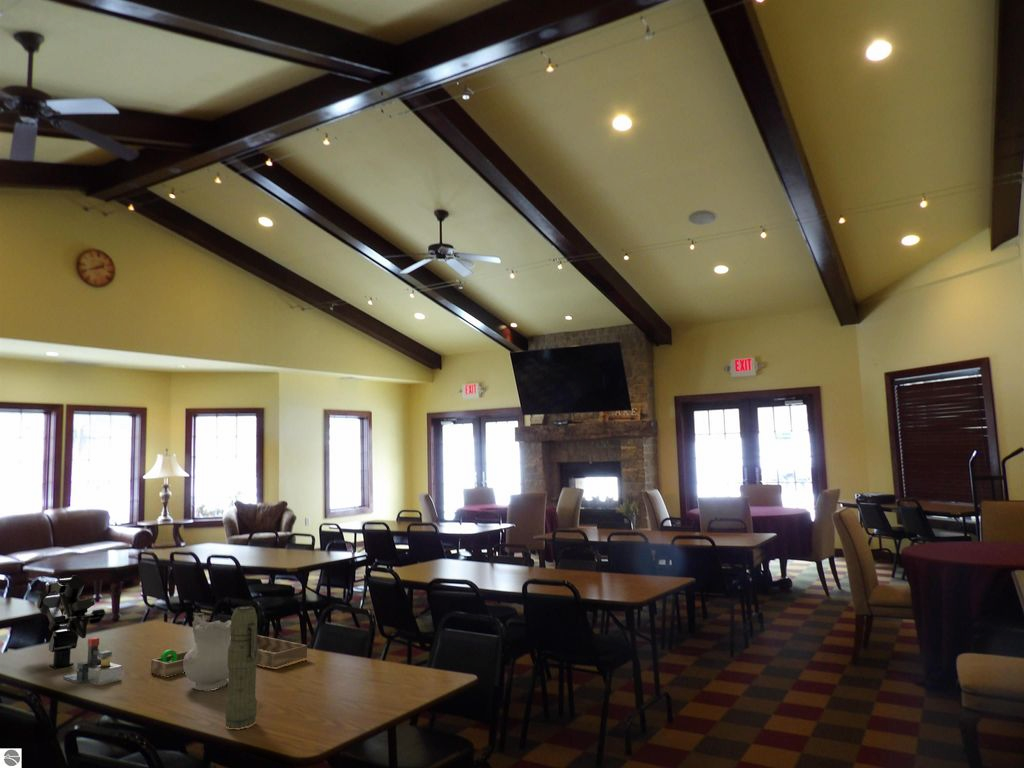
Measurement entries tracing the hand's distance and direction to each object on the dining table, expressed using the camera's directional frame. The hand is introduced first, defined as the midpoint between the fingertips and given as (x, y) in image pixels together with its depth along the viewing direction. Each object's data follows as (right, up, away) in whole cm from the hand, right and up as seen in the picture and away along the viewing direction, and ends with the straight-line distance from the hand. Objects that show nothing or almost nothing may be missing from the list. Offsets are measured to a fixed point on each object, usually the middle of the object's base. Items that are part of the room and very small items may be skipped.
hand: (84, 637), depth 273 cm
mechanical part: (+35, -14, +3) cm, 38 cm away
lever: (+8, -11, -7) cm, 15 cm away
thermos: (+81, -7, -56) cm, 99 cm away
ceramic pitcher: (+55, -12, -17) cm, 59 cm away
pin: (+14, -7, -10) cm, 19 cm away
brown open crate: (+63, -15, +18) cm, 67 cm away
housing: (+14, -12, -11) cm, 21 cm away
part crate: (+35, -14, +3) cm, 38 cm away
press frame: (+6, -13, -5) cm, 15 cm away
